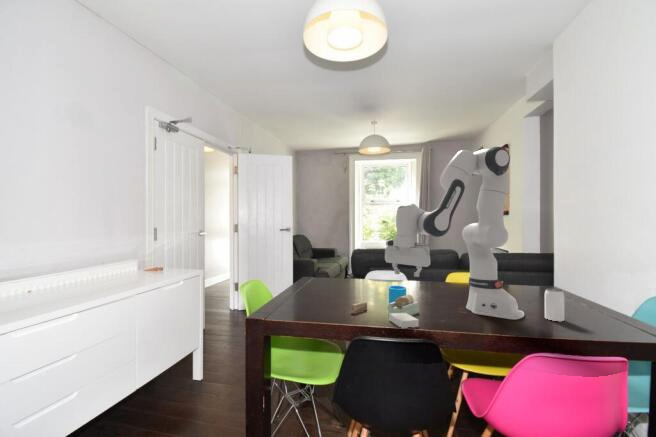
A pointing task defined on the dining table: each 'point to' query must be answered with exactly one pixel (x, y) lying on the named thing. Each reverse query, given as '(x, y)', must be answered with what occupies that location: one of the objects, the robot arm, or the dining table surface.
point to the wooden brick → (359, 307)
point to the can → (554, 304)
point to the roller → (404, 301)
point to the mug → (396, 292)
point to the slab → (403, 320)
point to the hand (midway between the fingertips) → (406, 275)
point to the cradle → (404, 308)
